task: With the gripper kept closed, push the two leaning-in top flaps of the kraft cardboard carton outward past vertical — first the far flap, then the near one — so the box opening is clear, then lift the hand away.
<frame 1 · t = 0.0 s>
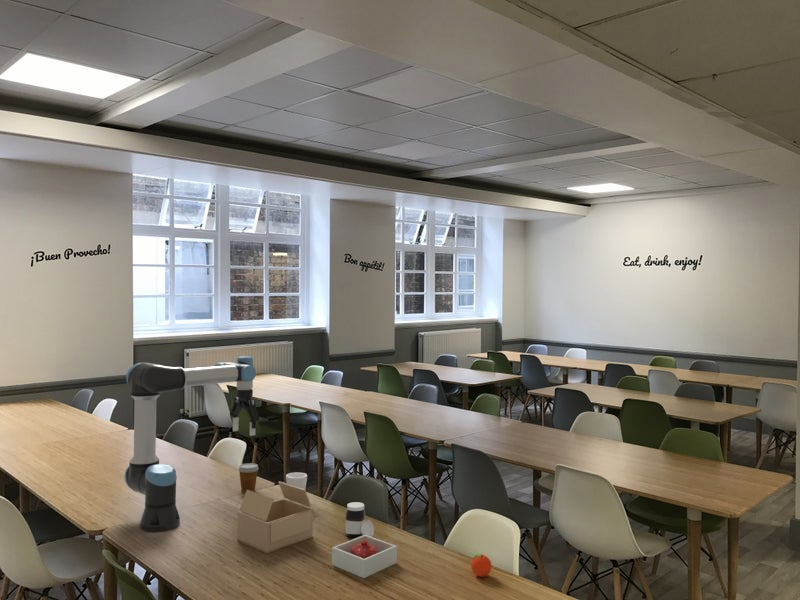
hand: (243, 433, 299), 28 cm above the table, fingers open, 13 cm apart
flap far: (294, 493, 248), point 15 cm above the table, hinge at 65.0°
dish caddy: (364, 563, 220), on the table
flap near: (256, 504, 234), point 15 cm above the table, hinge at 65.0°
carton: (275, 538, 241), on the table
disposable coffee cup: (248, 490, 301), on the table
foam cup: (296, 504, 282), on the table
spread jar: (359, 535, 246), on the table
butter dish: (364, 565, 220), resting in dish caddy
clementine: (479, 576, 212), on the table
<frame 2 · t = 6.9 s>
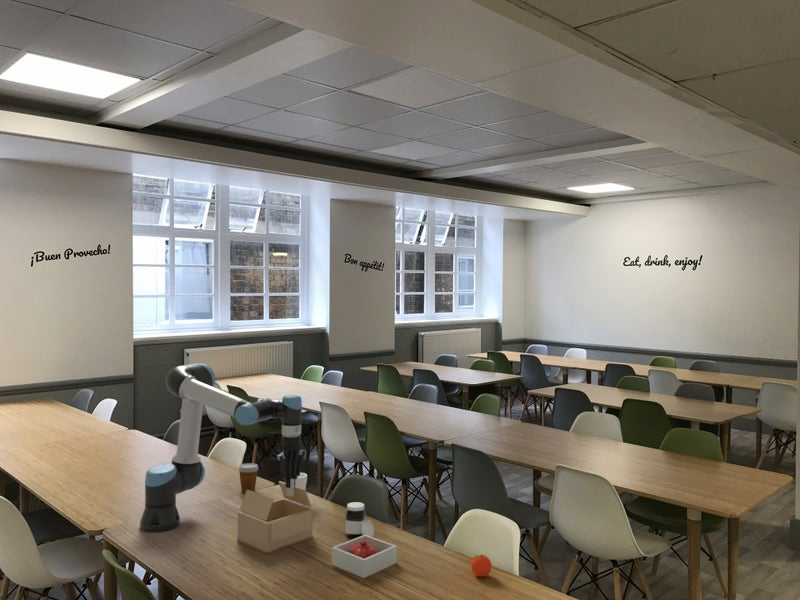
hand: (290, 495, 245), 16 cm above the table, fingers closed
flap far: (294, 493, 248), point 15 cm above the table, hinge at 66.2°, touching gripper
everything else where it was.
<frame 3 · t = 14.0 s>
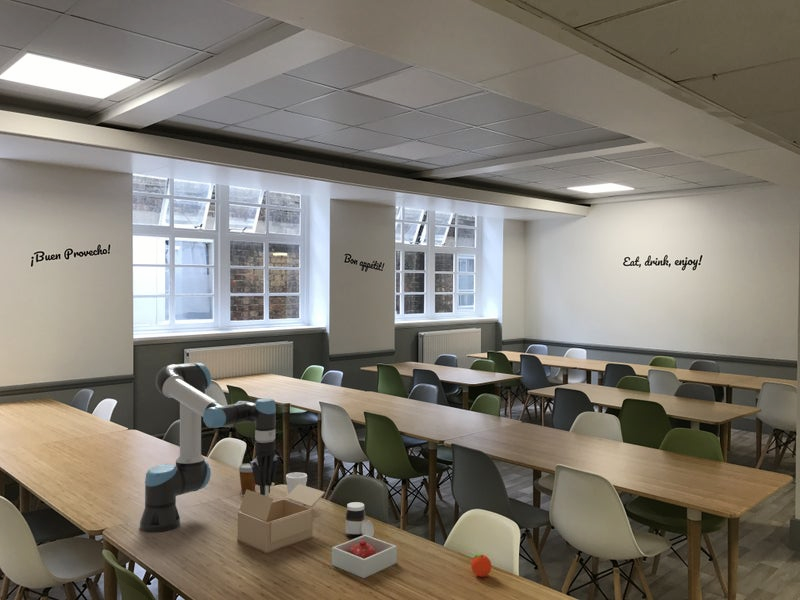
hand: (264, 502, 236), 16 cm above the table, fingers closed
flap far: (305, 495, 252), point 14 cm above the table, hinge at 149.9°
flap near: (256, 504, 234), point 15 cm above the table, hinge at 67.4°, touching gripper
everything else where it was.
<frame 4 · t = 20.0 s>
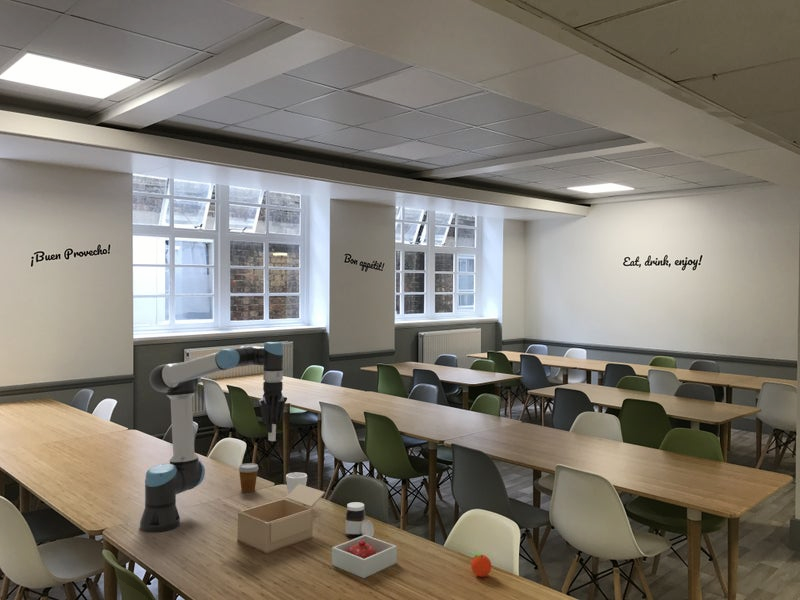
hand: (271, 440, 248), 36 cm above the table, fingers closed
flap near: (243, 513, 230), point 14 cm above the table, hinge at 150.0°
everything else where it was.
at the end: flap far at +150° (first picture: +65°); flap near at +150° (first picture: +65°) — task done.
